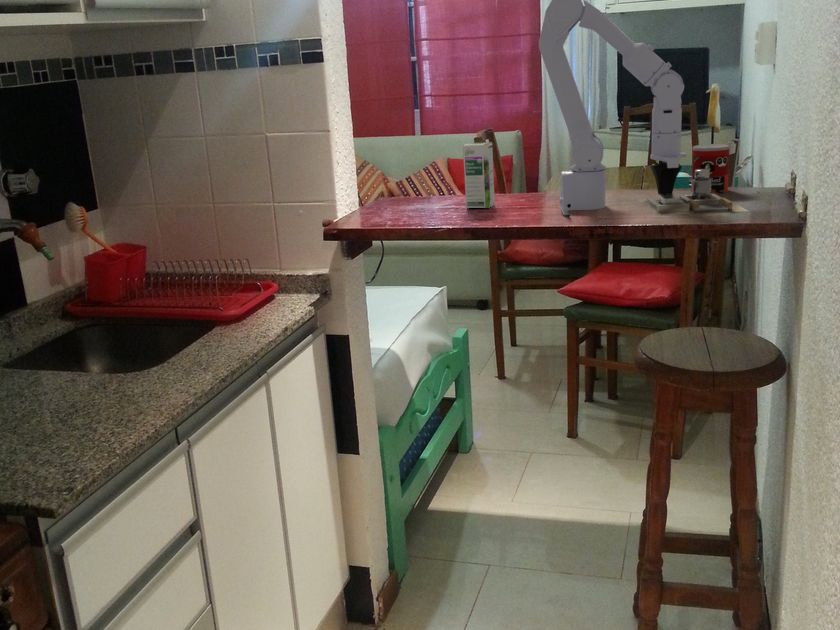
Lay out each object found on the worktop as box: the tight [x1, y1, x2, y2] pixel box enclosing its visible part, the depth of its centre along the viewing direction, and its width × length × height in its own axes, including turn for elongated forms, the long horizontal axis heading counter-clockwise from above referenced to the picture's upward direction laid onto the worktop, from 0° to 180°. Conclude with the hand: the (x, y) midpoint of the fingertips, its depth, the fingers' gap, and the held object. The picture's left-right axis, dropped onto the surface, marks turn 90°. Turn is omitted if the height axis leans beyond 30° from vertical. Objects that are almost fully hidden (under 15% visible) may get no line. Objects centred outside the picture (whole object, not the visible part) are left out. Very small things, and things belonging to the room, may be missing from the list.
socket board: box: [643, 194, 749, 216], centre depth 167 cm, size 17×17×3 cm
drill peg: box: [691, 169, 711, 200], centre depth 167 cm, size 4×4×7 cm
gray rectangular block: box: [658, 192, 680, 205], centre depth 166 cm, size 3×6×2 cm, turn 175°
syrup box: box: [462, 141, 495, 209], centre depth 186 cm, size 6×6×14 cm
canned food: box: [690, 143, 730, 195], centre depth 181 cm, size 8×8×11 cm
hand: (664, 199), depth 170 cm, fingers closed
